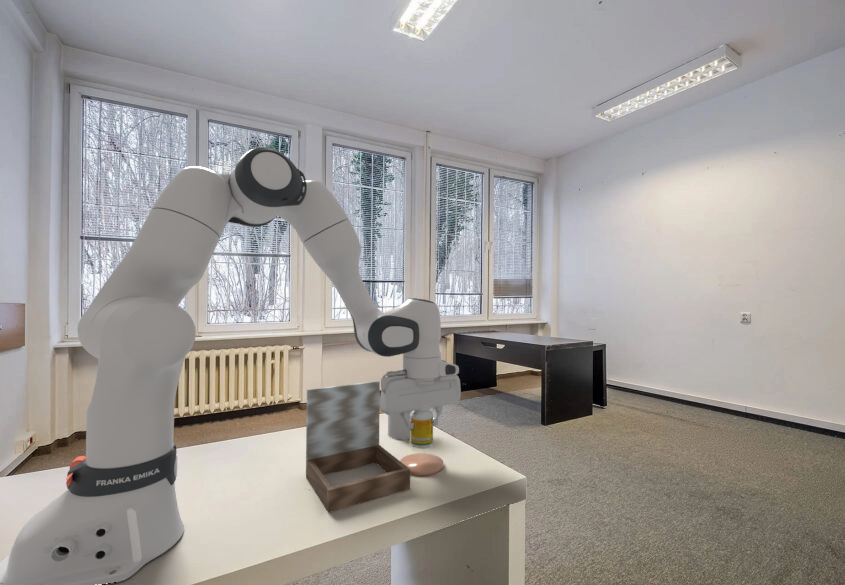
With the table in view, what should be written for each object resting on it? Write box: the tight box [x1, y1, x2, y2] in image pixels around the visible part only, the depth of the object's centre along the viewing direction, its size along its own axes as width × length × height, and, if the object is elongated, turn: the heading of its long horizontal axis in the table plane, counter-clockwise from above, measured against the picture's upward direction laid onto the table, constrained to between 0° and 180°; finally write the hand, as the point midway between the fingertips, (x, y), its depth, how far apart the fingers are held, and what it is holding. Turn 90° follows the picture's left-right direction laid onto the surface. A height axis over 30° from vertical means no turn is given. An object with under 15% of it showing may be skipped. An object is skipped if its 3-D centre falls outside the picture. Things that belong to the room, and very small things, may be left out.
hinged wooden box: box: [305, 380, 411, 513], centre depth 81 cm, size 17×16×19 cm
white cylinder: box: [387, 411, 412, 440], centre depth 110 cm, size 8×8×12 cm
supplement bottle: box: [409, 405, 434, 449], centre depth 89 cm, size 5×5×10 cm
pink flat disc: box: [399, 452, 444, 477], centre depth 89 cm, size 10×10×1 cm
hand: (421, 427), depth 89 cm, fingers closed on supplement bottle, 5 cm apart
